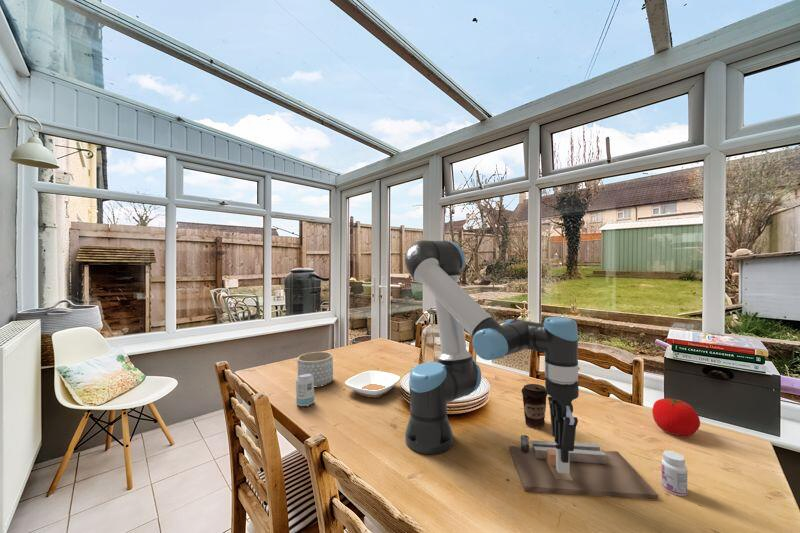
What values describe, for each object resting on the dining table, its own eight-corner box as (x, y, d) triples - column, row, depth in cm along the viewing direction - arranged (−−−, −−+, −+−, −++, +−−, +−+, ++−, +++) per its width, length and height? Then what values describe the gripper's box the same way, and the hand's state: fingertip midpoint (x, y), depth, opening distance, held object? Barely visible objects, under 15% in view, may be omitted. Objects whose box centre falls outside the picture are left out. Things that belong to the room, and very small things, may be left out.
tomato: (661, 438, 98) (661, 405, 98) (646, 420, 109) (645, 390, 109) (707, 445, 94) (707, 410, 94) (686, 425, 106) (686, 394, 105)
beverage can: (313, 399, 132) (313, 371, 132) (314, 406, 126) (314, 376, 126) (296, 402, 130) (295, 373, 130) (296, 409, 124) (295, 378, 124)
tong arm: (535, 458, 87) (535, 449, 87) (533, 454, 89) (533, 446, 89) (606, 464, 84) (606, 455, 84) (603, 460, 86) (603, 451, 86)
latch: (549, 465, 84) (549, 454, 84) (546, 459, 87) (546, 449, 87) (564, 466, 84) (563, 455, 84) (560, 460, 86) (560, 449, 86)
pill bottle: (656, 483, 79) (655, 449, 79) (674, 482, 79) (673, 448, 79) (674, 497, 74) (674, 461, 74) (693, 496, 74) (692, 460, 74)
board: (524, 491, 77) (524, 485, 77) (509, 450, 94) (509, 445, 94) (658, 499, 73) (658, 494, 73) (617, 455, 90) (617, 451, 90)
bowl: (406, 387, 143) (406, 376, 143) (378, 406, 125) (378, 393, 125) (369, 379, 155) (368, 368, 155) (338, 395, 136) (338, 383, 136)
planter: (328, 389, 143) (328, 361, 143) (292, 389, 143) (292, 362, 143) (336, 376, 160) (335, 351, 160) (304, 376, 160) (303, 352, 160)
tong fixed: (522, 452, 90) (521, 439, 90) (520, 448, 93) (519, 434, 93) (600, 456, 88) (600, 442, 88) (596, 452, 90) (596, 438, 90)
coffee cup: (551, 432, 103) (550, 392, 103) (524, 430, 105) (524, 391, 105) (544, 419, 112) (544, 382, 112) (520, 417, 113) (519, 381, 113)
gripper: (589, 389, 73) (590, 491, 73) (566, 370, 86) (567, 456, 86) (555, 389, 74) (556, 488, 74) (537, 370, 87) (539, 455, 87)
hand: (562, 471), depth 80 cm, fingers closed
